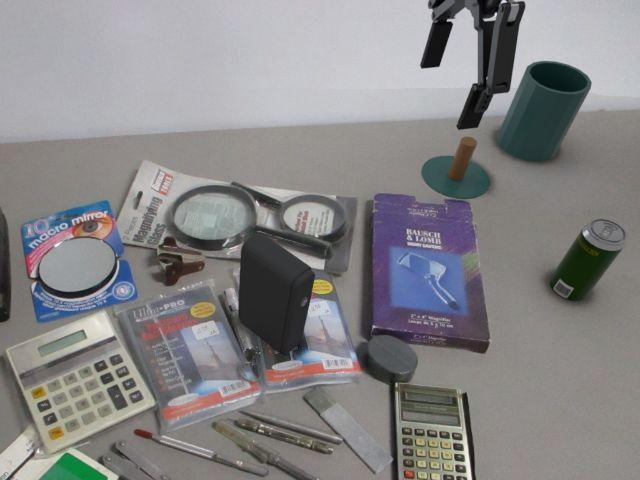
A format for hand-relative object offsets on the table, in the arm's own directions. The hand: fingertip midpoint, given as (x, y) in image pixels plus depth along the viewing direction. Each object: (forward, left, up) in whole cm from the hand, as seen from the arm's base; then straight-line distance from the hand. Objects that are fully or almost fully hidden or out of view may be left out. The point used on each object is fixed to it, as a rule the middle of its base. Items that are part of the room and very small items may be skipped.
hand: (447, 95), depth 82 cm
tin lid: (-8, -7, -19) cm, 22 cm away
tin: (-23, -18, -20) cm, 36 cm away
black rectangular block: (+23, +28, -20) cm, 41 cm away
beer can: (-20, +17, -20) cm, 33 cm away
